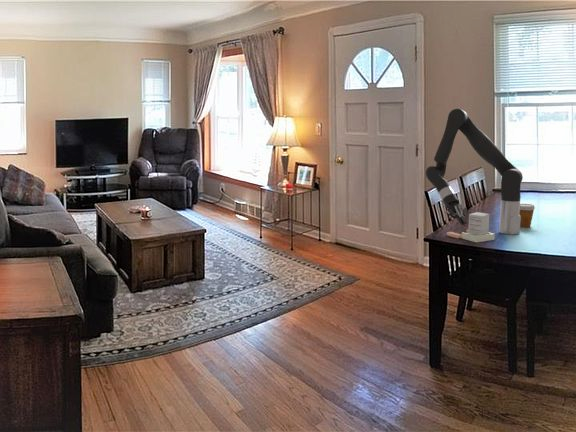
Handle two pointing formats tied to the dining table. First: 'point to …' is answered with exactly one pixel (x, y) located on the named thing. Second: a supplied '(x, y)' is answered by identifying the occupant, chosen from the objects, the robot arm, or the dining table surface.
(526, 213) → the disposable coffee cup
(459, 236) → the trap left
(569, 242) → the dining table surface
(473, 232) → the supplement box
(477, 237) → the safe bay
